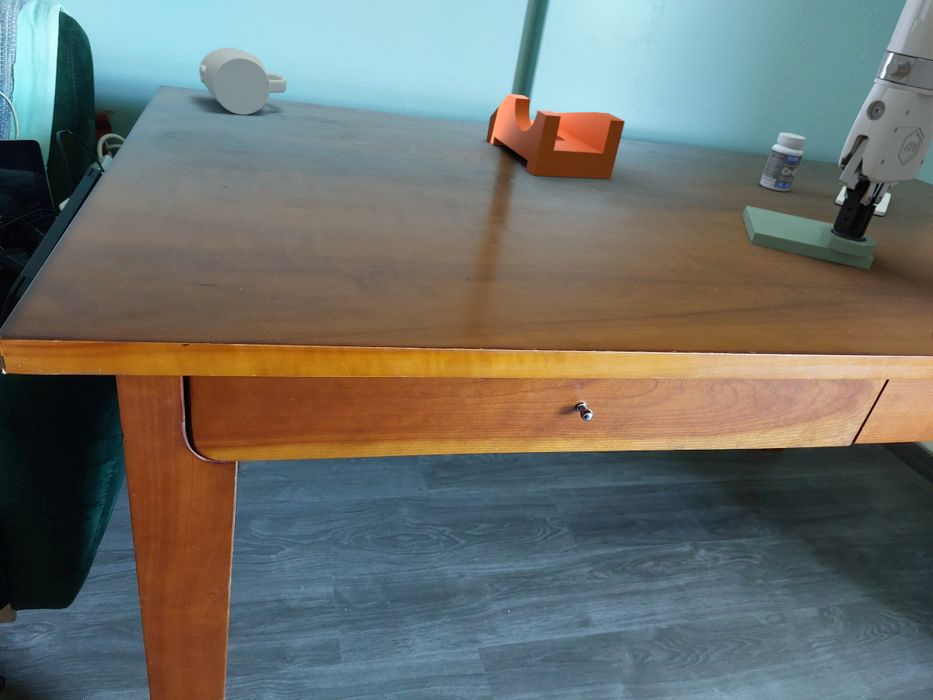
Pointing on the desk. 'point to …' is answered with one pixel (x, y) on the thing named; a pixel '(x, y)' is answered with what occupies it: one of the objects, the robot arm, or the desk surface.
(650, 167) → the desk surface
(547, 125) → the tape dispenser
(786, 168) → the pill bottle
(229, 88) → the mug
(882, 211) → the smartphone
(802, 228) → the scale
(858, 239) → the scale button
